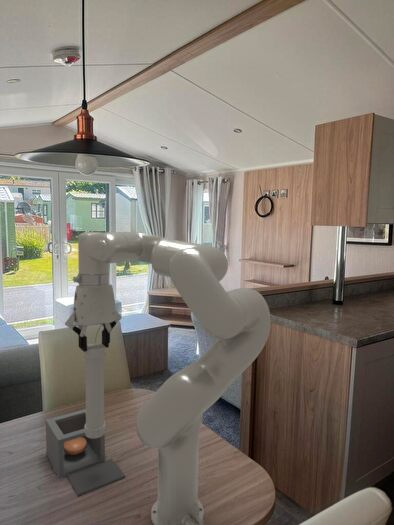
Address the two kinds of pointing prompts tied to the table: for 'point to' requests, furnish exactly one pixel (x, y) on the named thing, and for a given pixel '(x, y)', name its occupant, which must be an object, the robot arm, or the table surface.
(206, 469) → the table surface
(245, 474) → the table surface
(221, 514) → the table surface
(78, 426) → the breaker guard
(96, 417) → the grey cylindrical piece
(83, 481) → the mat
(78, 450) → the button
